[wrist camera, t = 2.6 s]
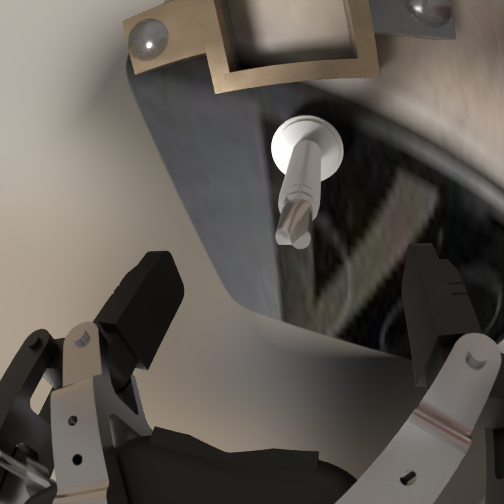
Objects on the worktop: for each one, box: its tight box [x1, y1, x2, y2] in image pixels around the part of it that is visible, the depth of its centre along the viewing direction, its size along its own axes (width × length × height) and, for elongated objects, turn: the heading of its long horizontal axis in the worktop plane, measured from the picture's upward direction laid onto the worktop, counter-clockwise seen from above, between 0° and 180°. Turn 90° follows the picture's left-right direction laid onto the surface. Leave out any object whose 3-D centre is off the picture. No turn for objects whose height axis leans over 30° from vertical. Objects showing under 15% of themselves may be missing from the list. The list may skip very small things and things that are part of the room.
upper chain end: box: [123, 0, 380, 94], centre depth 15 cm, size 16×10×3 cm, turn 101°
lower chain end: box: [220, 0, 456, 71], centre depth 14 cm, size 16×10×3 cm, turn 101°
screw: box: [272, 115, 343, 249], centre depth 16 cm, size 13×5×5 cm
